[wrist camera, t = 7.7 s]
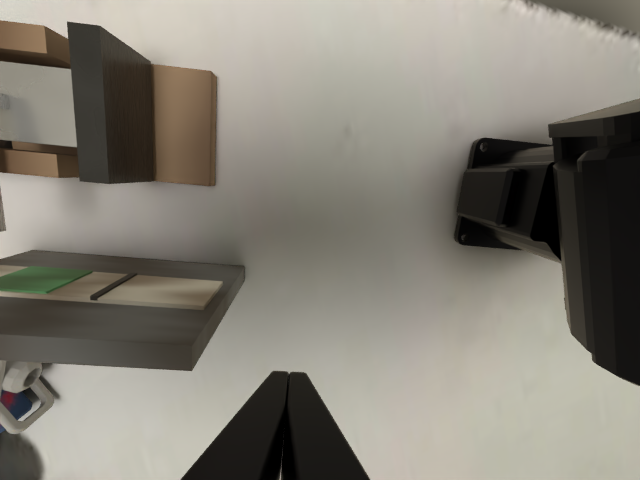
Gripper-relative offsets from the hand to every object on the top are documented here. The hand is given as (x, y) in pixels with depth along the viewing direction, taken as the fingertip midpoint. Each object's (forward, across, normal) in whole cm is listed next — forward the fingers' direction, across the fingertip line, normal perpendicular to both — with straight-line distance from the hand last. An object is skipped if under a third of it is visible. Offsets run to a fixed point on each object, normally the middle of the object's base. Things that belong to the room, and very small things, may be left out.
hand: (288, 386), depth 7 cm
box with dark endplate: (+11, +12, -6) cm, 17 cm away
